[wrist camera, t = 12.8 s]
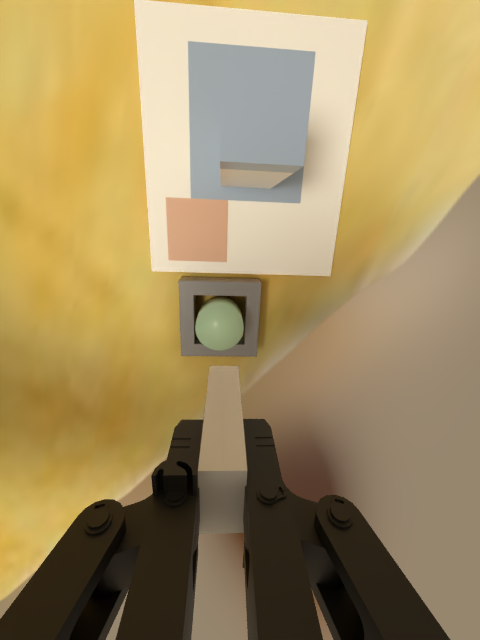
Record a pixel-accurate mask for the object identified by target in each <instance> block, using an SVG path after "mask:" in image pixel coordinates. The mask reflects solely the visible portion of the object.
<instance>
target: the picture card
mask: <svg viewBox="0 0 480 640" xmlns="http://www.w3.org/2000/svg"><path fill="white" fill-rule="evenodd" d="M134 7H135V22H136V37H137V52H138V68H139V83H140V98H141V113H142V128H143V144H144V159H145V174H146V189H147V204H148V220H149V235H150V250H151V265H152V271H163V272H199V273H234V274H270V275H306V276H331V269H332V262H333V255H334V249H335V242H336V235H337V228H338V221H339V214H340V207H341V200H342V194H343V187H344V180H345V173H346V166H347V159H348V152H349V146H350V139H351V132H352V125H353V118H354V111H355V104H356V98H357V91H358V84H359V77H360V70H361V63H362V56H363V50H364V43H365V36H366V29H367V22H368V21H367V20H356V19H345V18H334V17H324V16H313V15H302V14H291V13H280V12H269V11H258V10H247V9H236V8H225V7H214V6H203V5H192V4H182V3H171V2H160V1H149V0H134ZM221 54H233V55H244V56H256V57H267V58H279V59H290V60H302V61H314V62H315V65H314V74H313V84H312V93H311V103H310V112H309V122H308V131H307V141H306V150H305V160H304V166H303V167H302V168H301V169H299V170H298V171H296V172H295V173H293V174H292V175H290V176H289V177H287V178H286V179H284V180H283V181H281V182H280V183H278V184H277V185H275V186H274V187H272V188H271V189H264V188H246V187H227V186H221V177H220V114H221Z"/></svg>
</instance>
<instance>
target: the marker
mask: <svg viewBox="0 0 480 640" xmlns="http://www.w3.org/2000/svg"><path fill="white" fill-rule="evenodd" d="M314 65H315V62H314V61H302V60H290V59H279V58H267V57H256V56H244V55H233V54H221V114H220V177H221V186H227V187H246V188H264V189H271V188H272V187H274V186H275V185H277V184H278V183H280V182H281V181H283V180H284V179H286V178H287V177H289V176H290V175H292V174H293V173H295V172H296V171H298V170H299V169H301V168H302V167H303V166H304V160H305V150H306V141H307V131H308V122H309V112H310V103H311V93H312V84H313V74H314Z"/></svg>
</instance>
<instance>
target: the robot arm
mask: <svg viewBox="0 0 480 640" xmlns="http://www.w3.org/2000/svg"><path fill="white" fill-rule="evenodd" d="M152 487H153V494H152V495H151V496H149V497H148V498H146V499H145V500H142V501H140V502H137V503H134V504H131V505H128V506H125V507H122V505H121V504H120V503H119V502H117V501H115V500H109V499H104V500H101V501H98V502H95V503H93V504H92V505H90V506H88V507H87V508H85V509H84V510H83V511H82V512H81V513H80V514H79V515H78V517H77V518H76V519H75V521H74V522H73V523H72V525H71V526H70V527H69V529H68V530H67V531H66V533H65V534H64V535H63V537H62V538H61V539H60V541H59V542H58V543H57V545H56V546H55V547H54V549H53V550H52V551H51V552H50V554H49V555H48V556H47V558H46V559H45V560H44V562H43V563H42V564H41V566H40V567H39V568H38V570H37V571H36V572H35V574H34V575H33V576H32V578H31V579H30V580H29V582H28V583H27V584H26V586H25V587H24V588H23V590H22V591H21V592H20V594H19V595H18V597H17V598H16V599H15V600H14V602H13V603H12V604H11V606H10V607H9V609H8V610H7V611H6V612H5V614H4V615H3V616H2V618H1V619H0V640H106V637H107V635H108V633H109V631H110V628H111V627H112V624H113V622H114V620H115V618H116V616H117V614H118V611H119V609H120V607H121V605H122V603H123V601H124V598H125V596H126V594H127V592H128V595H127V599H126V602H125V606H124V610H123V614H122V618H121V622H120V625H119V629H118V633H117V637H116V640H191V634H192V622H193V609H194V598H195V597H194V596H195V584H196V573H197V561H198V535H199V534H205V533H244V555H243V568H244V569H245V587H246V608H247V628H248V640H323V638H322V633H321V629H320V625H319V620H318V616H317V611H316V607H315V603H314V598H313V594H312V590H313V593H314V595H315V597H316V600H317V602H318V604H319V607H320V609H321V611H322V614H323V616H324V618H325V621H326V623H327V625H328V628H329V630H330V632H331V635H332V637H333V639H334V640H450V639H449V638H448V636H447V634H446V633H445V632H444V630H443V629H442V627H441V626H440V624H439V623H438V622H437V621H436V619H435V617H434V616H433V615H432V613H431V612H430V610H429V609H428V607H427V606H426V605H425V603H424V602H423V600H422V599H421V598H420V596H419V595H418V593H417V592H416V591H415V589H414V588H413V586H412V585H411V583H410V582H409V581H408V579H407V578H406V576H405V575H404V574H403V572H402V571H401V569H400V568H399V566H398V565H397V564H396V562H395V561H394V559H393V558H392V556H391V555H390V554H389V552H388V551H387V550H386V548H385V547H384V545H383V544H382V542H381V541H380V539H379V538H378V537H377V535H376V534H375V532H374V531H373V530H372V528H371V527H370V525H369V524H368V522H367V521H366V520H365V518H364V517H363V515H362V514H361V513H360V511H359V510H358V509H357V508H356V507H355V506H354V505H353V503H351V502H350V501H348V500H347V499H345V498H344V497H340V496H337V495H327V496H325V497H323V498H321V499H320V500H319V502H318V503H316V502H313V501H310V500H306V499H303V498H301V497H298V496H296V495H295V494H293V493H292V492H291V491H290V490H289V489H288V488H287V487H286V486H285V484H284V483H283V480H282V477H281V472H280V468H279V463H278V458H277V454H276V449H275V445H274V440H273V436H272V431H271V427H270V426H269V425H268V423H267V422H266V421H265V420H264V419H243V414H242V402H241V390H240V378H239V366H210V368H209V377H208V386H207V395H206V404H205V412H204V420H181V421H180V423H179V424H178V425H177V426H176V427H175V429H174V433H173V437H172V441H171V445H170V449H169V453H168V457H167V460H166V461H164V462H162V463H161V464H160V465H158V466H157V467H156V468H155V470H154V472H153V474H152ZM311 588H312V590H311ZM128 590H129V591H128Z"/></svg>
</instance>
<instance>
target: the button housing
mask: <svg viewBox="0 0 480 640" xmlns="http://www.w3.org/2000/svg"><path fill="white" fill-rule="evenodd" d="M196 295H213V296H245V304H244V331H243V336H242V338H241V339H240V341H239V342H238V343H237V344H236V345H235V346H233V347H232V348H229V349H227V350H213V349H210V348H207V347H206V346H204V345H203V344H202V343H201V342H200V341H199V339H198V337H197V336H196V331H195V325H196ZM260 298H261V281H260V280H259V278H223V277H186V276H182V277H181V278H180V280H179V305H180V334H181V356H253V357H257V344H258V329H259V313H260Z"/></svg>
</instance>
